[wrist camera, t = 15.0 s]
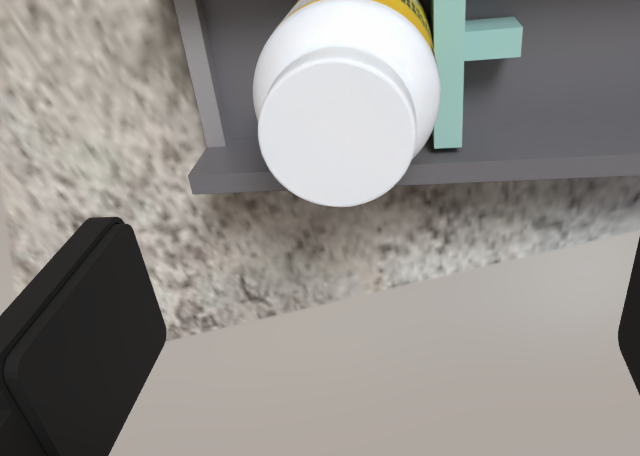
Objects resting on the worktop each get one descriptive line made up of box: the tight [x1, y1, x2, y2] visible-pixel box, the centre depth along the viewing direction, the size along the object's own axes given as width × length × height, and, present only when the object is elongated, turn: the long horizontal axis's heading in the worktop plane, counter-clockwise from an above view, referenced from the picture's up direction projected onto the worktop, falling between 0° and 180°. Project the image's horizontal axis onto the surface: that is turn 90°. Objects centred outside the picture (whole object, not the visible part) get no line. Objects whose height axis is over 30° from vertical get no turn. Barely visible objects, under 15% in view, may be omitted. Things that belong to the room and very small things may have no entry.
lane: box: [173, 0, 640, 194], centre depth 23 cm, size 26×11×7 cm, turn 96°
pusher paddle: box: [430, 0, 523, 149], centre depth 24 cm, size 4×8×3 cm, turn 6°
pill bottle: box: [253, 0, 441, 207], centre depth 21 cm, size 6×6×12 cm
